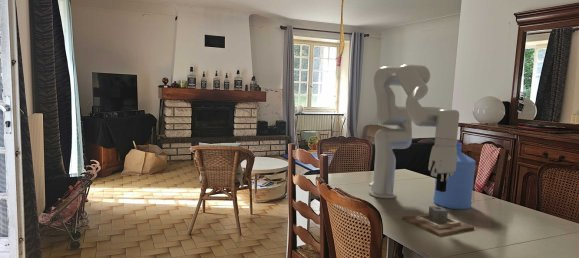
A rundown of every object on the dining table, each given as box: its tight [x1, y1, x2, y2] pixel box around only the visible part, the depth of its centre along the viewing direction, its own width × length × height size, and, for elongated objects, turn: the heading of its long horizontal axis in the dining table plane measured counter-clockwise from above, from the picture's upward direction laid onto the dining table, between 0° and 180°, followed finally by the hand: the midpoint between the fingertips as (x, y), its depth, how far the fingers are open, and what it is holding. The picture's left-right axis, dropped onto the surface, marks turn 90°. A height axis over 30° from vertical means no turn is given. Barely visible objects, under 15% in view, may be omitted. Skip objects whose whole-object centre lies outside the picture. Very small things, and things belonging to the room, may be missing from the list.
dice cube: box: [428, 205, 449, 224], centre depth 145 cm, size 5×5×5 cm
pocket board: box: [402, 212, 475, 237], centre depth 145 cm, size 18×18×2 cm
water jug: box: [433, 141, 476, 211], centre depth 170 cm, size 16×16×28 cm
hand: (440, 190), depth 144 cm, fingers closed
